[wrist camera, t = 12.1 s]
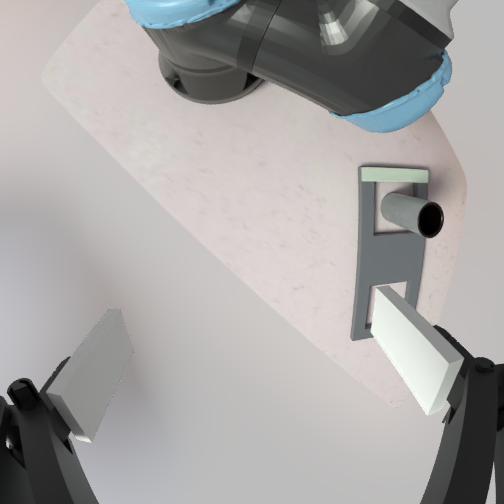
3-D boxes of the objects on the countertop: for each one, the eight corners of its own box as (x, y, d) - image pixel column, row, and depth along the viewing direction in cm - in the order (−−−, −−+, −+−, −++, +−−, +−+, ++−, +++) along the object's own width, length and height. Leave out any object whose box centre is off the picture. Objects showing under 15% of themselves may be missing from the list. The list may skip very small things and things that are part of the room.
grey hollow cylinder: (387, 187, 38) (426, 195, 28) (408, 200, 39) (449, 212, 29) (375, 213, 40) (412, 229, 30) (397, 226, 40) (435, 244, 30)
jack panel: (358, 167, 37) (361, 167, 36) (423, 169, 38) (428, 170, 36) (350, 337, 46) (352, 341, 44) (407, 326, 46) (411, 330, 44)
